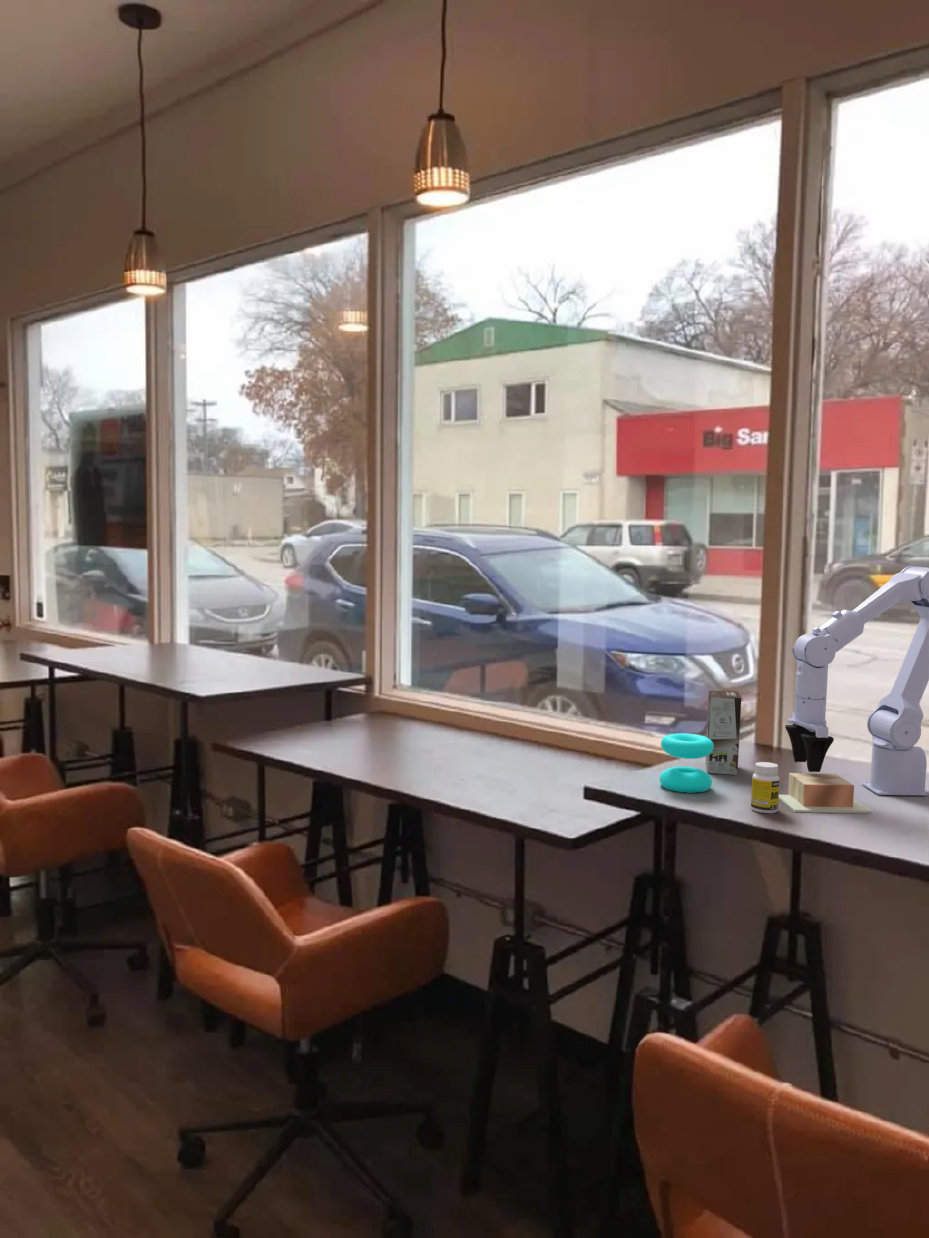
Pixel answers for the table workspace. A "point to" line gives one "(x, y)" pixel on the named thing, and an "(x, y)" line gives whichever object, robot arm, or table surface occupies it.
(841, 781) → the birch slab
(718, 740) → the coffee box
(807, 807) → the green board
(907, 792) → the robot arm
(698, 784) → the donuts
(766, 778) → the supplement bottle
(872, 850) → the table surface
